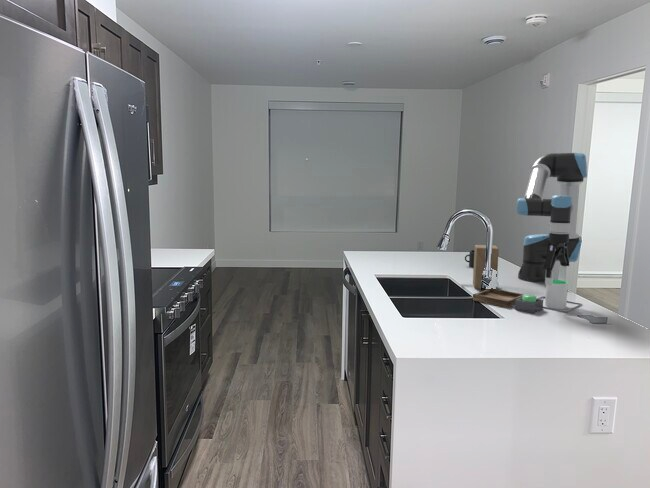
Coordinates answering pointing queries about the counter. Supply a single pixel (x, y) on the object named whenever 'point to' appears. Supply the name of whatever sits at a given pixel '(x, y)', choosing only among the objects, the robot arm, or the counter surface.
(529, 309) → the control box
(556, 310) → the tote frame
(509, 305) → the wooden tray
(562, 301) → the mug
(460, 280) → the counter surface
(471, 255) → the mug
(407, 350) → the counter surface
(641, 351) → the counter surface
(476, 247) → the wooden block
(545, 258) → the robot arm
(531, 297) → the button
